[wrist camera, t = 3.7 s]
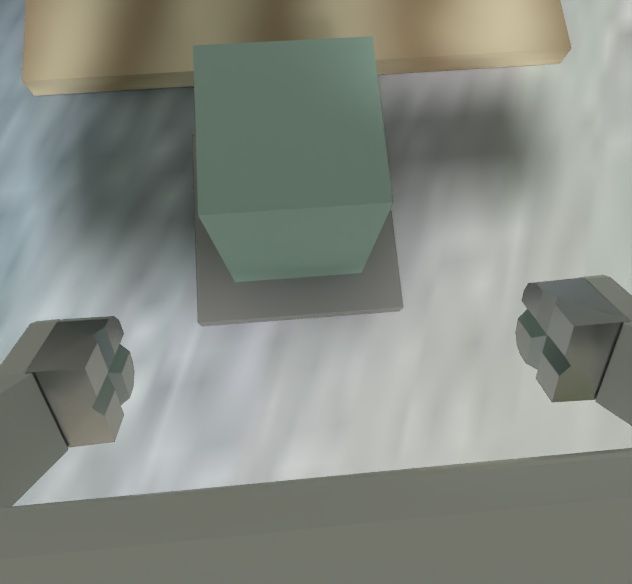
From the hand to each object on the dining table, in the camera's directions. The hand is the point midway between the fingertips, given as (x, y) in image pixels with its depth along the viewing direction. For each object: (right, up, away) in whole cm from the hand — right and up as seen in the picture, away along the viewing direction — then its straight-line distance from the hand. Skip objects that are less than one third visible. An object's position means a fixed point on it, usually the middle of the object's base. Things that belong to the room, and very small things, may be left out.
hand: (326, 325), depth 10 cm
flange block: (-1, +3, +11) cm, 11 cm away
